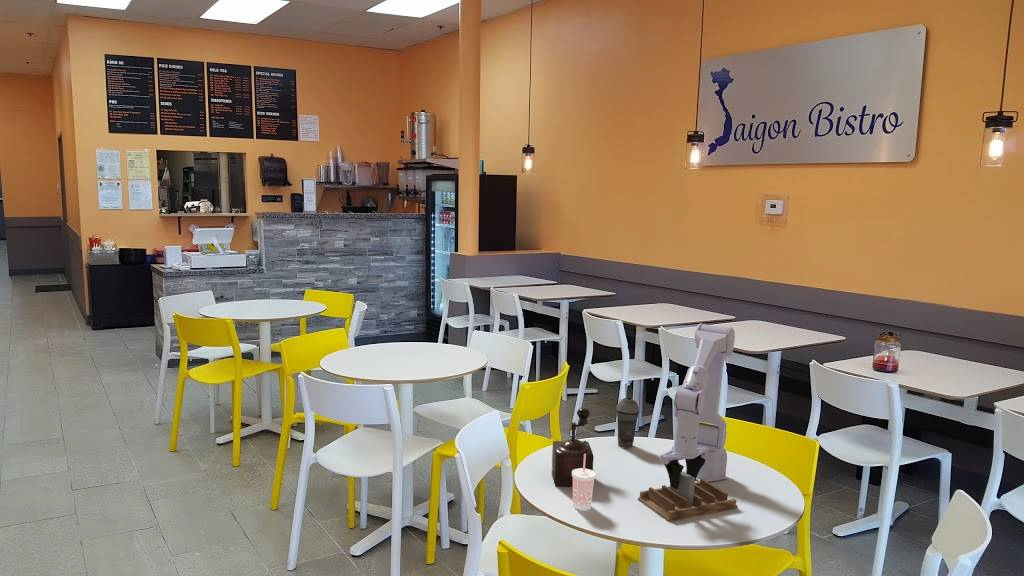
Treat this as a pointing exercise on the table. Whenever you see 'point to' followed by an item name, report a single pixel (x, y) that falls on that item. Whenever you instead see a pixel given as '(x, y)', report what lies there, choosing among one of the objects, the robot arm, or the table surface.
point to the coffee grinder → (571, 454)
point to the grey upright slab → (686, 487)
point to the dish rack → (677, 506)
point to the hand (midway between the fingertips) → (682, 485)
